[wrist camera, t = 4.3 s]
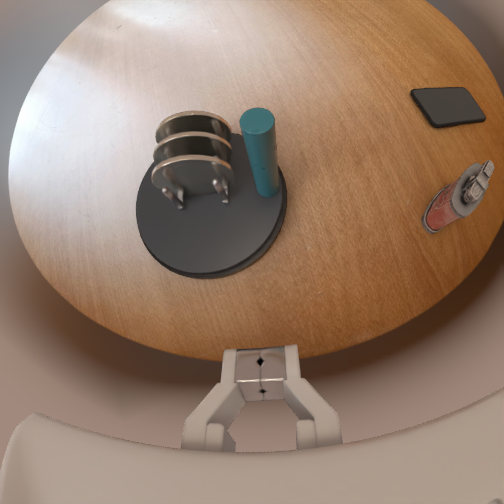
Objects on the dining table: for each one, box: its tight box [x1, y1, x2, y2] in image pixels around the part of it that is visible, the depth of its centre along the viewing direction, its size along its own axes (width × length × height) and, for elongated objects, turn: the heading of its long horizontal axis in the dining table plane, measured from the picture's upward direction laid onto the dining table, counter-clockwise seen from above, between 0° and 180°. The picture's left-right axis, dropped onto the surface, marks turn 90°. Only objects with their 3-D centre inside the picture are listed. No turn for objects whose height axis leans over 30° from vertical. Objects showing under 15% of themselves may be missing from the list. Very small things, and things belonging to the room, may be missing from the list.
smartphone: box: [411, 87, 486, 128], centre depth 30 cm, size 7×1×15 cm
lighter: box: [422, 160, 494, 234], centre depth 24 cm, size 8×3×10 cm, turn 132°
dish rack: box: [136, 108, 282, 274], centre depth 24 cm, size 17×17×13 cm
